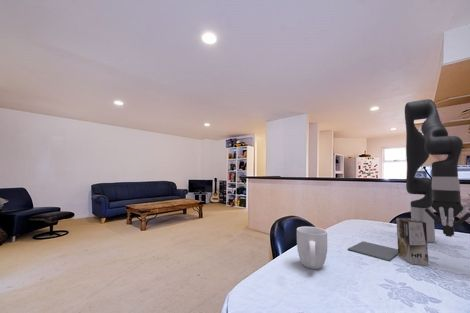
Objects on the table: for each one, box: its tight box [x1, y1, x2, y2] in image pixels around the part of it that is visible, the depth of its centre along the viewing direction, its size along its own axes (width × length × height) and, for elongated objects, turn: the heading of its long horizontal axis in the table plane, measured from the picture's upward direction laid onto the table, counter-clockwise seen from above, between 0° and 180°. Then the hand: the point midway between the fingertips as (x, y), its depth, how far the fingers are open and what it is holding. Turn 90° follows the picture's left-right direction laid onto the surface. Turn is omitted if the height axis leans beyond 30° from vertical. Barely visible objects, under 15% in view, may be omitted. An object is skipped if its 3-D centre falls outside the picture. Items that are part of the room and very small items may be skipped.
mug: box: [296, 226, 328, 270], centre depth 79 cm, size 15×11×13 cm
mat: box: [347, 240, 398, 262], centre depth 97 cm, size 18×16×1 cm
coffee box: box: [395, 217, 429, 266], centre depth 87 cm, size 9×6×16 cm
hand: (448, 236), depth 79 cm, fingers closed
